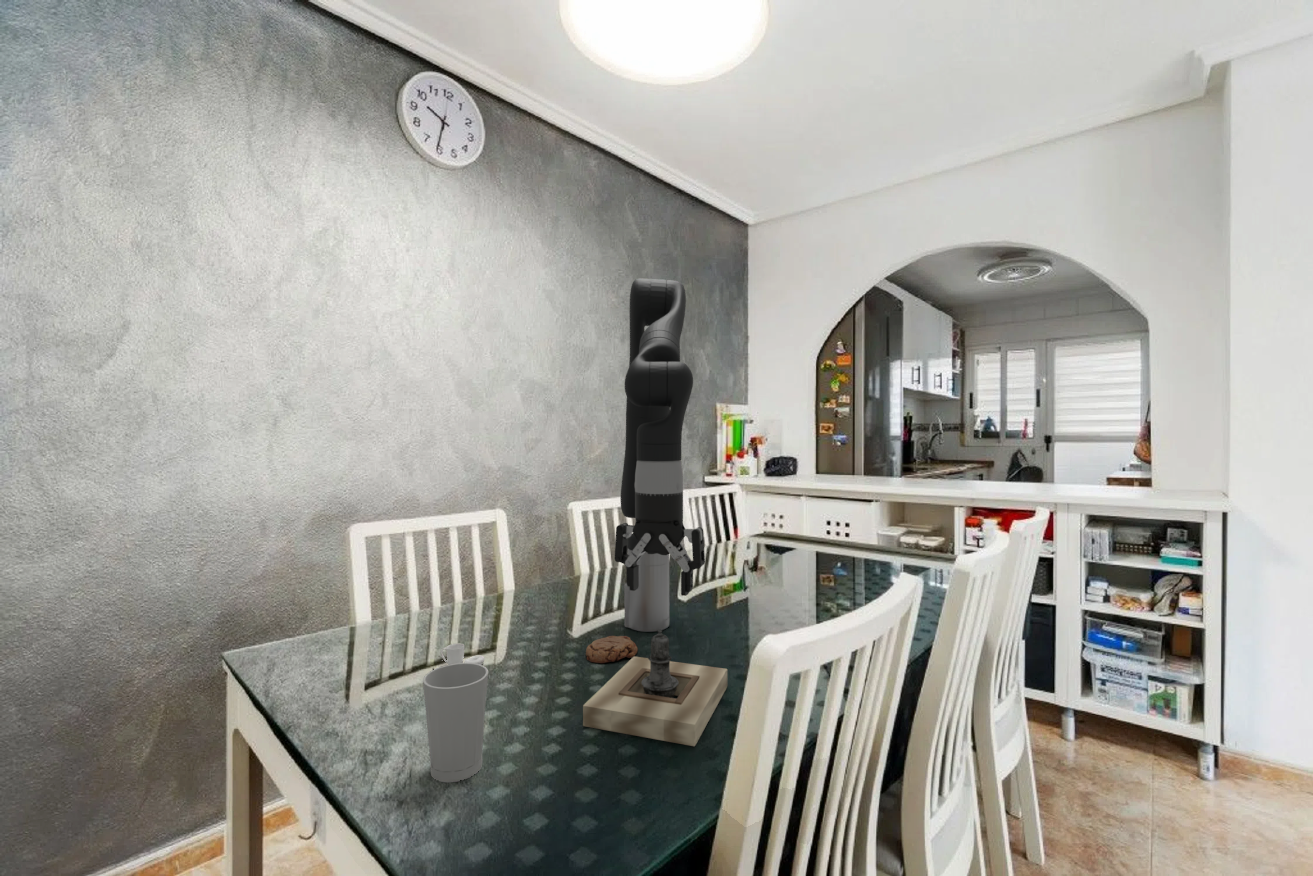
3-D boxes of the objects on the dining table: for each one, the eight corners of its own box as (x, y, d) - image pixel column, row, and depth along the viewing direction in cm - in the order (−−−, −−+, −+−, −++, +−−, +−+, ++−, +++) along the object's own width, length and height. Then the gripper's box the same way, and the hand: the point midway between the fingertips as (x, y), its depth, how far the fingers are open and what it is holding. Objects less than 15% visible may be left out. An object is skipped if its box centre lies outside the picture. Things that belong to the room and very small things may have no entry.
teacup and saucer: (490, 664, 110) (490, 643, 110) (460, 681, 103) (459, 657, 103) (455, 657, 114) (455, 636, 114) (423, 672, 107) (422, 650, 107)
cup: (434, 752, 79) (433, 663, 79) (494, 749, 80) (493, 661, 80) (414, 788, 71) (414, 689, 71) (481, 784, 72) (481, 687, 72)
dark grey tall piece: (674, 715, 90) (674, 636, 89) (637, 711, 91) (637, 633, 91) (681, 698, 95) (681, 624, 95) (646, 694, 97) (646, 621, 96)
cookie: (574, 660, 112) (574, 645, 112) (603, 642, 121) (603, 628, 121) (620, 669, 107) (620, 653, 107) (646, 650, 117) (646, 635, 117)
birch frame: (583, 726, 86) (583, 703, 86) (633, 673, 105) (633, 654, 105) (694, 746, 81) (694, 722, 81) (727, 686, 99) (727, 667, 99)
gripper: (709, 488, 93) (709, 590, 94) (626, 485, 98) (626, 582, 99) (696, 493, 86) (696, 603, 87) (607, 490, 91) (607, 594, 92)
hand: (659, 591), depth 93 cm, fingers open, 8 cm apart
